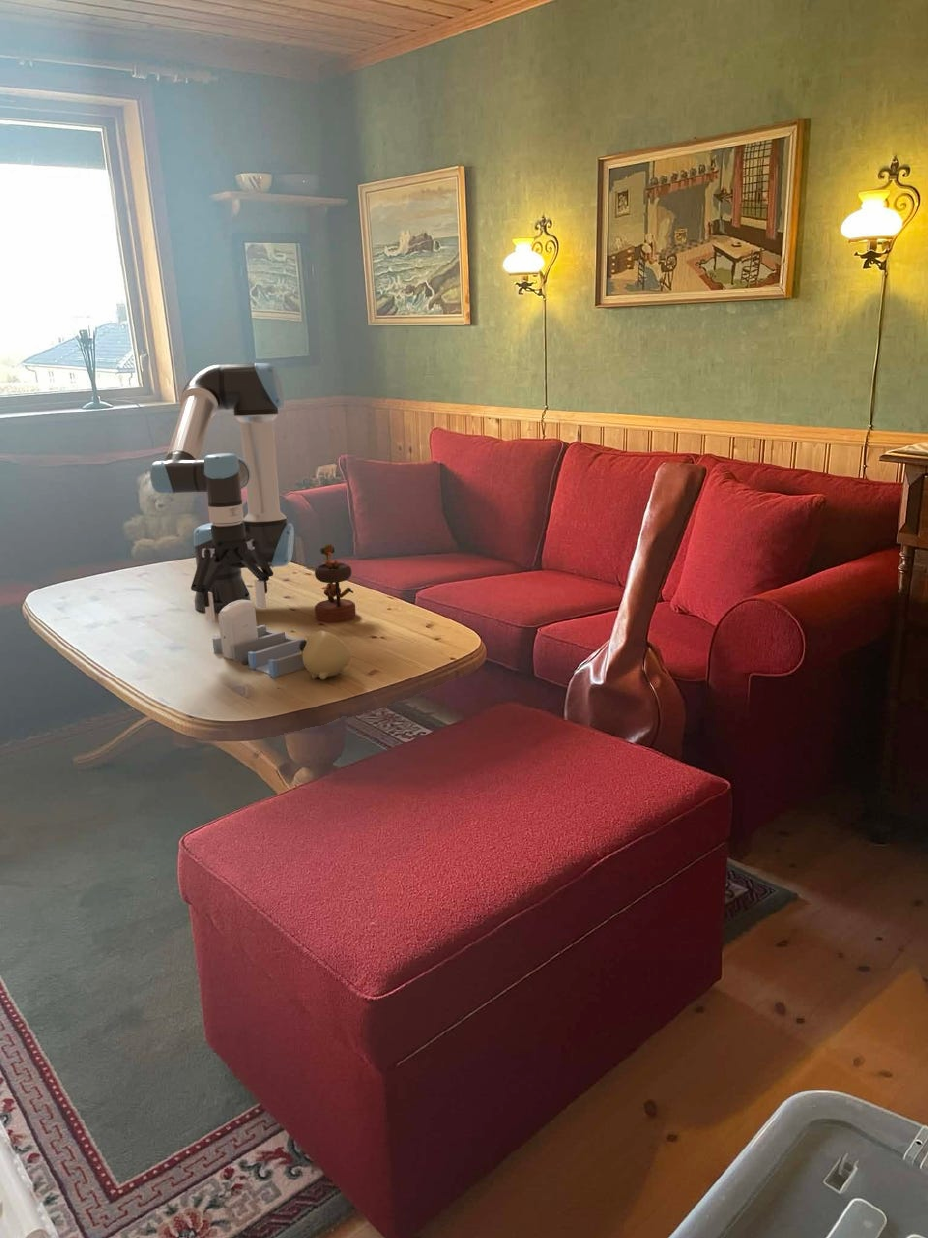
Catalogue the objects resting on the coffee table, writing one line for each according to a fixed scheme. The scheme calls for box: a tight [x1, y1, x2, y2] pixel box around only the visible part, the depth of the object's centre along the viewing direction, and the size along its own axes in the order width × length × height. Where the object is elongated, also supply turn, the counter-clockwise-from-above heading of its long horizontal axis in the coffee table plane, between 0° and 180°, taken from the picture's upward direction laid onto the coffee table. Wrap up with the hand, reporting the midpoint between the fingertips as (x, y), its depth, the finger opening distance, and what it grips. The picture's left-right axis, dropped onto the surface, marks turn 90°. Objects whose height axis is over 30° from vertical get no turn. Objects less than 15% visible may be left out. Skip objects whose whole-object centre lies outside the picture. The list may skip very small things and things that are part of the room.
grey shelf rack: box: [212, 624, 307, 679], centre depth 216 cm, size 26×16×4 cm, turn 45°
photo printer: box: [217, 600, 258, 660], centre depth 218 cm, size 10×4×12 cm, turn 156°
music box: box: [314, 543, 357, 624], centre depth 242 cm, size 15×11×20 cm
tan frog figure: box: [299, 630, 351, 680], centre depth 200 cm, size 10×12×11 cm
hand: (236, 613), depth 217 cm, fingers open, 13 cm apart
